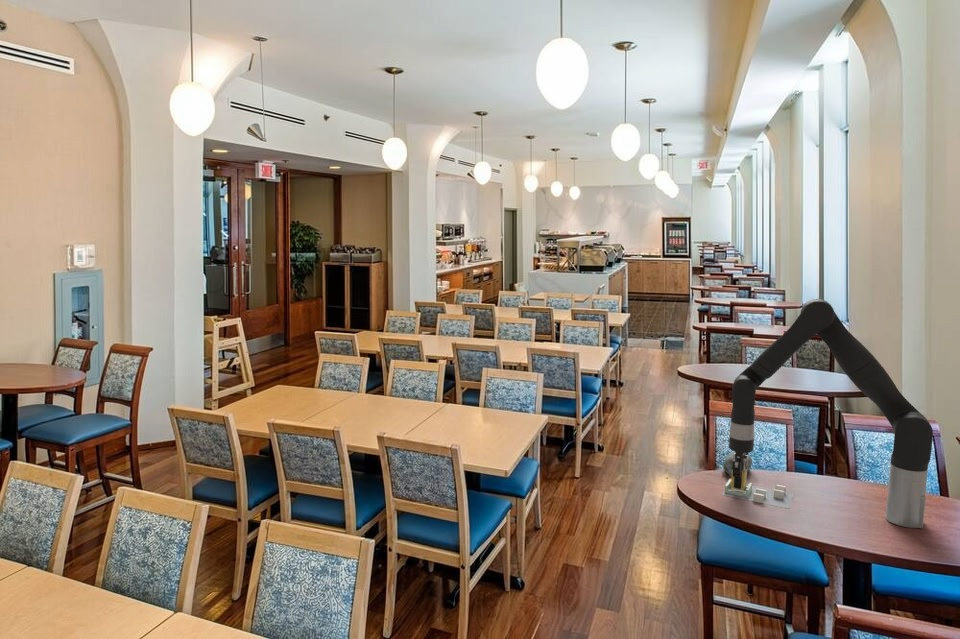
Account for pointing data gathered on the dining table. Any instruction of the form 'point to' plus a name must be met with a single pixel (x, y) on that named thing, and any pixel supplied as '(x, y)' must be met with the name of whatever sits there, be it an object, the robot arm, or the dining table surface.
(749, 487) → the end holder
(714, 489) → the dining table surface
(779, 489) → the white blocks
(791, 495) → the board
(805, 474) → the dining table surface
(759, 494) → the white blocks
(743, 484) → the yellow drawer
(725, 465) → the spool
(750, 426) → the robot arm
